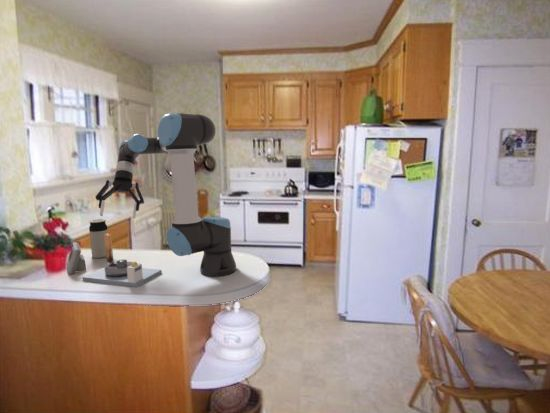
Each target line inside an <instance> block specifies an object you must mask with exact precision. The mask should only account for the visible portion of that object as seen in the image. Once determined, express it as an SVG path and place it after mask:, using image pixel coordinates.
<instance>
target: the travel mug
mask: <svg viewBox="0 0 550 413" xmlns="http://www.w3.org/2000/svg"><path fill="white" fill-rule="evenodd" d="M106 220H107V219H106V218H95V219H90V220H89V221H88V222H89V226H88V228H89V229H88V230H89V239H90V240H89V241H90V250H91V257H92V258H94V259H102V258H103V257H104V258H107V257H106V246H105V236H104V235H105V234H109V231H108V230H109V229H108V225H107V223H106Z"/></svg>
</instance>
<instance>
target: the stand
mask: <svg viewBox="0 0 550 413" xmlns="http://www.w3.org/2000/svg"><path fill="white" fill-rule="evenodd" d="M131 262H132V263H131V266H129V267H127V275H126V276H121V277H109V276H106V275H105V267H103V268H100V269H98V270H96V271H93V272H91V273H89V274H87V275H84V276H82V281H83V282H88V283H89V282H90V283H92V282H93V283H98V284H99V283H101V284H108V285H118V286H125V287H134V288H138V287H140V286H142V285H143V284H145V283H147V282H148V281H150V280H153V279H155V277H158V276H159V275H161V274H162V272H163V270H162V269H160V268H159V269H157V268H156V269H155V268H147V267H143V264H142V263H138V262H137V261H131Z"/></svg>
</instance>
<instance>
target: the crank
mask: <svg viewBox="0 0 550 413" xmlns="http://www.w3.org/2000/svg"><path fill="white" fill-rule="evenodd" d="M104 236H105V246H106V257H105V258H106V263H108V264H107V265H106V266H105V267H104V268H105V275H106V276H109V277H121V276H126V275H127V267H129V266H131V263H132V262H133V261H128V260H127V259H118V260H117V259H115V258H114V252H113V251H114V250H113V241H112V233H108V234H105V235H104Z"/></svg>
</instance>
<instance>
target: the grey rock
mask: <svg viewBox="0 0 550 413" xmlns="http://www.w3.org/2000/svg"><path fill="white" fill-rule="evenodd" d="M72 244H73V247H72V246H71V247H72V251H71V253H70V252H69V255H68V257H67V258H68V259H67V261H66V268H67V273H68V274H70V275H73V274H75V273H76V272H82V271H86V270H87V267H86V261H85V256H84V255H83V254H81V252H82V249H81V247H80V244H79V243H78V242H76V241H74V242H72Z"/></svg>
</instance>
